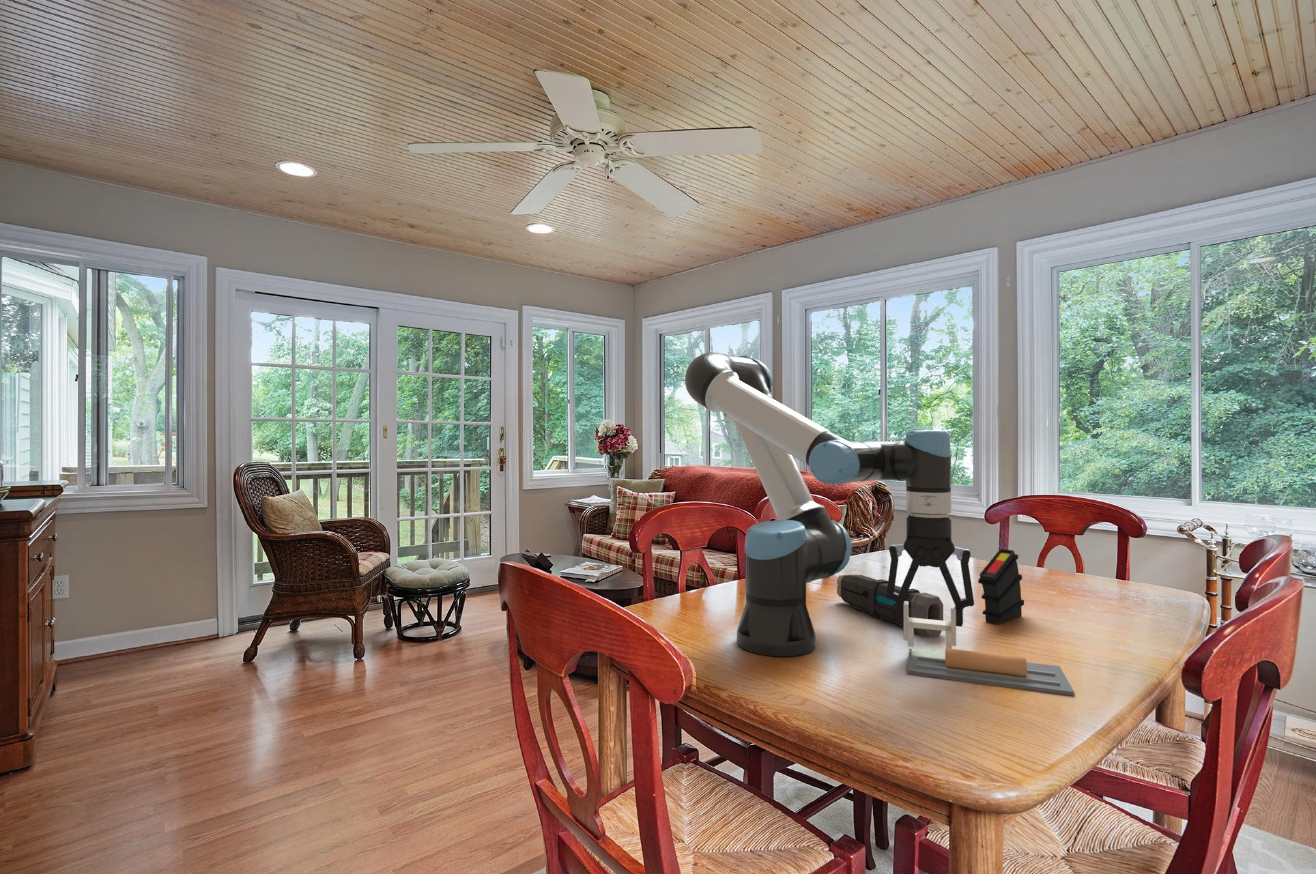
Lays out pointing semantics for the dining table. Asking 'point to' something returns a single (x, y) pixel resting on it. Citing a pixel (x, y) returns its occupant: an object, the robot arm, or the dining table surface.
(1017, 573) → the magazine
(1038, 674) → the guide mat
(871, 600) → the tube
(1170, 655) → the dining table surface
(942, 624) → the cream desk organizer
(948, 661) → the tan cylindrical rod
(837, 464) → the robot arm
